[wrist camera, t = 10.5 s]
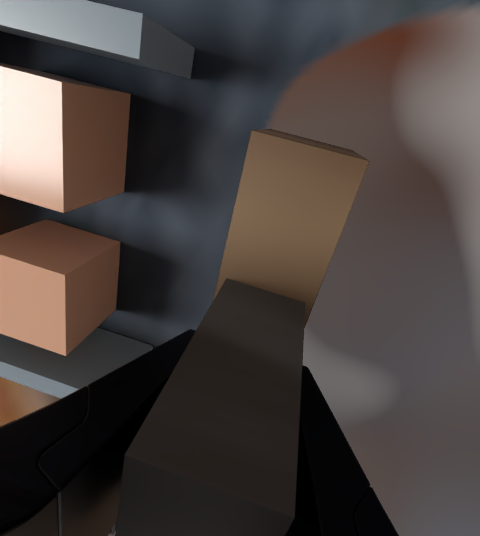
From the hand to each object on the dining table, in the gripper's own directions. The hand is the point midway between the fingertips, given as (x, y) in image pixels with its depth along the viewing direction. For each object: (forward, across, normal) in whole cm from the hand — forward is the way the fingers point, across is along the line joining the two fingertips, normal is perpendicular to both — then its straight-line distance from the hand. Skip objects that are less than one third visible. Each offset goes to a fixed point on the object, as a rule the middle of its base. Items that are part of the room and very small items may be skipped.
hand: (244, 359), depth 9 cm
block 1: (+6, +9, -4) cm, 12 cm away
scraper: (+6, 0, 0) cm, 6 cm away
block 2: (+6, +9, +3) cm, 12 cm away
